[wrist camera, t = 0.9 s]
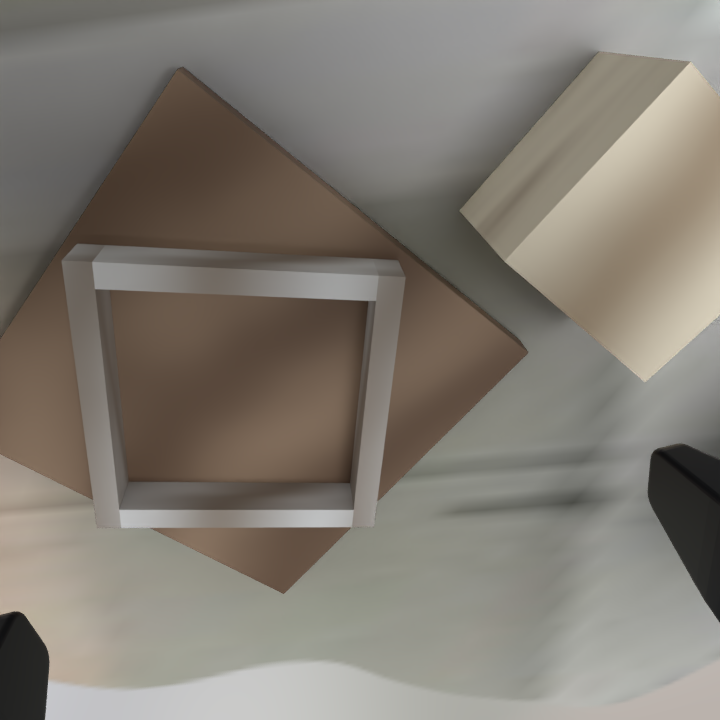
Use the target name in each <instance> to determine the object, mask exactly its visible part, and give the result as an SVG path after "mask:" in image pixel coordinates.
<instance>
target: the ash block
mask: <svg viewBox="0 0 720 720" xmlns="http://www.w3.org/2000/svg"><path fill="white" fill-rule="evenodd" d="M459 211H460V212H461V213H462V214H463V216H464V217H465V218H466V219H467V220H468V221H469V222H470V223H471V225H472V226H473V227H474V228H475V229H476V230H477V231H478V232H479V233H480V235H481V236H482V237H483V238H484V239H485V240H486V241H487V242H488V244H489V245H490V246H491V247H492V248H493V249H494V250H495V251H496V253H497V254H498V255H499V256H500V257H501V258H502V259H503V260H504V261H505V262H506V263H507V264H508V265H509V266H510V267H512V268H513V269H514V270H515V271H516V272H517V273H518V274H520V275H521V276H522V277H523V278H524V279H525V280H527V281H528V282H529V283H530V284H531V285H532V286H534V287H535V288H536V289H537V290H538V291H539V292H541V293H542V294H543V295H544V296H545V297H546V298H548V299H549V300H550V301H551V302H552V303H553V304H555V305H556V306H557V307H558V308H559V309H560V310H562V311H563V312H564V313H565V314H566V315H567V316H569V317H570V318H571V319H572V320H573V321H574V322H575V323H577V324H578V325H579V326H580V327H581V328H582V329H584V330H585V331H586V332H587V333H588V334H589V335H591V336H592V337H593V338H594V339H595V340H596V341H598V342H599V343H600V344H601V345H602V346H603V347H605V348H606V349H607V350H608V351H609V352H610V353H612V354H613V355H614V356H615V357H616V358H617V359H619V360H620V361H621V362H622V363H623V364H624V365H625V366H627V367H628V368H629V369H630V370H631V371H632V372H634V373H635V374H636V375H637V376H638V377H639V378H641V379H642V380H643V381H644V382H646V381H647V380H648V379H650V378H651V377H652V376H653V375H654V374H655V373H656V372H657V371H658V370H659V369H661V368H662V367H663V366H664V365H665V364H666V363H667V362H668V361H669V360H671V359H672V358H673V357H674V356H675V355H676V354H677V353H678V352H679V351H681V350H682V349H683V348H684V347H685V346H686V345H687V344H688V343H689V342H691V341H692V340H693V339H694V338H695V337H696V336H697V335H698V334H699V333H701V332H702V331H703V330H704V329H705V328H706V327H707V326H708V325H709V324H710V323H712V322H713V321H714V320H715V319H716V318H717V317H718V316H719V315H720V97H719V96H718V94H717V93H716V92H715V91H714V89H713V88H712V87H711V86H710V85H709V83H708V82H707V81H706V80H705V78H704V77H703V76H702V75H701V74H700V72H699V71H698V70H697V69H696V67H695V66H694V65H693V64H692V63H691V62H689V61H680V60H671V59H662V58H653V57H644V56H635V55H626V54H617V53H608V52H598V53H597V54H596V55H595V57H594V58H593V59H592V60H591V61H590V62H589V63H588V65H587V66H586V67H585V68H584V69H583V70H582V71H581V72H580V74H579V75H578V76H577V77H576V78H575V79H574V80H573V82H572V83H571V84H570V85H569V86H568V87H567V88H566V90H565V91H564V92H563V93H562V94H561V95H560V96H559V98H558V99H557V100H556V101H555V102H554V103H553V104H552V105H551V107H550V108H549V109H548V110H547V111H546V112H545V113H544V115H543V116H542V117H541V118H540V119H539V120H538V121H537V123H536V124H535V125H534V126H533V127H532V128H531V129H530V131H529V132H528V133H527V134H526V135H525V136H524V137H523V138H522V140H521V141H520V142H519V143H518V144H517V145H516V146H515V148H514V149H513V150H512V151H511V152H510V153H509V154H508V156H507V157H506V158H505V159H504V160H503V161H502V162H501V164H500V165H499V166H498V167H497V168H496V169H495V170H494V171H493V173H492V174H491V175H490V176H489V177H488V178H487V179H486V181H485V182H484V183H483V184H482V185H481V186H480V187H479V189H478V190H477V191H476V192H475V193H474V194H473V195H472V197H471V198H470V199H469V200H468V201H467V202H466V203H465V205H464V206H463V207H462V208H461V209H460V210H459Z"/></svg>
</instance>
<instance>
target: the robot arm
mask: <svg viewBox="0 0 720 720" xmlns="http://www.w3.org/2000/svg"><path fill="white" fill-rule="evenodd" d="M648 497H649V501H650V504H651V506H652V508H653V510H654V512H655V514H656V516H657V517H658V519H659V521H660V523H661V524H662V526H663V528H664V530H665V532H666V533H667V535H668V537H669V539H670V540H671V542H672V544H673V546H674V548H675V549H676V551H677V553H678V555H679V556H680V558H681V560H682V562H683V564H684V565H685V567H686V569H687V571H688V572H689V574H690V576H691V578H692V580H693V581H694V583H695V585H696V587H697V588H698V590H699V592H700V593H701V595H702V597H703V598H704V600H705V602H706V603H707V605H708V606H709V607H710V609H711V610H712V612H713V613H714V615H715V616H716V618H717V619H718V621H719V622H720V459H718V458H716V457H713V456H711V455H709V454H706V453H704V452H702V451H700V450H697V449H695V448H693V447H690V446H688V445H685V444H674V445H670V446H666V447H662V448H658V449H656V450H654V451H653V453H652V455H651V460H650V471H649V482H648ZM48 675H49V655H48V651H47V648H46V646H45V644H44V643H43V641H42V640H41V638H40V637H39V635H38V634H37V632H36V631H35V629H34V628H33V627H32V625H31V624H30V622H29V621H28V619H27V618H26V617H25V615H24V614H22V613H20V612H10V613H6V614H2V615H0V720H45V713H46V699H47V687H48Z"/></svg>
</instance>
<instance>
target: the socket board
mask: <svg viewBox="0 0 720 720" xmlns="http://www.w3.org/2000/svg"><path fill="white" fill-rule="evenodd" d="M527 353H528V351H527V350H526V348H525V347H524V346H523V344H522V343H521V341H520V340H519V339H518V338H517V337H515V336H514V335H513V334H512V333H510V332H509V331H508V330H507V329H505V328H504V327H503V326H502V325H501V324H499V323H498V322H497V321H496V320H494V319H493V318H492V317H491V316H489V315H488V314H487V313H486V312H484V311H483V310H482V309H481V308H480V307H478V306H477V305H476V304H475V303H473V302H472V301H471V300H470V299H468V298H467V297H466V296H465V295H464V294H462V293H461V292H460V291H459V290H457V289H456V288H455V287H454V286H452V285H451V284H450V283H449V282H447V281H446V280H445V279H444V278H443V277H441V276H440V275H439V274H438V273H436V272H435V271H434V270H433V269H431V268H430V267H429V266H428V265H427V264H425V263H424V262H423V261H422V260H420V259H419V258H418V257H417V256H415V255H414V254H413V253H412V252H410V251H409V250H408V249H407V248H406V247H404V246H403V245H402V244H401V243H399V242H398V241H397V240H396V239H394V238H393V237H392V236H391V235H390V234H388V233H387V232H386V231H385V230H383V229H382V228H381V227H380V226H378V225H377V224H376V223H375V222H373V221H372V220H371V219H370V218H369V217H367V216H366V215H365V214H364V213H362V212H361V211H360V210H359V209H357V208H356V207H355V206H354V205H353V204H351V203H350V202H349V201H348V200H346V199H345V198H344V197H343V196H341V195H340V194H339V193H338V192H336V191H335V190H334V189H333V188H332V187H330V186H329V185H328V184H327V183H325V182H324V181H323V180H322V179H320V178H319V177H318V176H317V175H316V174H314V173H313V172H312V171H311V170H309V169H308V168H307V167H306V166H304V165H303V164H302V163H301V162H299V161H298V160H297V159H296V158H295V157H293V156H292V155H291V154H290V153H288V152H287V151H286V150H285V149H283V148H282V147H281V146H280V145H279V144H277V143H276V142H275V141H274V140H272V139H271V138H270V137H269V136H267V135H266V134H265V133H264V132H262V131H261V130H260V129H259V128H258V127H256V126H255V125H254V124H253V123H251V122H250V121H249V120H248V119H246V118H245V117H244V116H243V115H242V114H240V113H239V112H238V111H237V110H235V109H234V108H233V107H232V106H230V105H229V104H228V103H227V102H225V101H224V100H223V99H222V98H221V97H219V96H218V95H217V94H216V93H214V92H213V91H212V90H211V89H209V88H208V87H207V86H206V85H205V84H203V83H202V82H201V81H200V80H198V79H197V78H196V77H195V76H193V75H192V74H191V73H190V72H188V71H187V70H186V69H185V68H184V67H182V68H179V69H177V71H176V72H175V74H174V75H173V77H172V78H171V80H170V82H169V83H168V85H167V86H166V88H165V89H164V91H163V92H162V94H161V95H160V97H159V98H158V100H157V101H156V103H155V104H154V106H153V107H152V109H151V110H150V112H149V113H148V115H147V117H146V118H145V120H144V121H143V123H142V124H141V126H140V127H139V129H138V130H137V132H136V133H135V135H134V136H133V138H132V139H131V141H130V142H129V144H128V145H127V147H126V148H125V150H124V152H123V153H122V155H121V156H120V158H119V159H118V161H117V162H116V164H115V165H114V167H113V168H112V170H111V171H110V173H109V174H108V176H107V177H106V179H105V180H104V182H103V183H102V185H101V187H100V188H99V190H98V191H97V193H96V194H95V196H94V197H93V199H92V200H91V202H90V203H89V205H88V206H87V208H86V209H85V211H84V212H83V214H82V215H81V217H80V218H79V220H78V222H77V223H76V225H75V226H74V228H73V229H72V231H71V232H70V234H69V235H68V237H67V238H66V240H65V241H64V243H63V244H62V246H61V247H60V249H59V250H58V252H57V253H56V255H55V257H54V258H53V260H52V261H51V263H50V264H49V266H48V267H47V269H46V270H45V272H44V273H43V275H42V276H41V278H40V279H39V281H38V282H37V284H36V285H35V287H34V288H33V290H32V292H31V293H30V295H29V296H28V298H27V299H26V301H25V302H24V304H23V305H22V307H21V308H20V310H19V311H18V313H17V314H16V316H15V317H14V319H13V320H12V322H11V323H10V325H9V327H8V328H7V330H6V331H5V333H4V334H3V336H2V337H1V339H0V454H1V455H3V456H5V457H7V458H9V459H11V460H13V461H15V462H17V463H19V464H21V465H23V466H26V467H28V468H30V469H32V470H34V471H36V472H38V473H40V474H42V475H44V476H46V477H48V478H50V479H52V480H54V481H56V482H58V483H60V484H62V485H64V486H66V487H68V488H70V489H72V490H74V491H76V492H78V493H80V494H82V495H84V496H86V497H88V498H90V499H92V500H93V502H94V510H95V517H96V525H97V528H151V529H153V530H155V531H157V532H159V533H161V534H163V535H165V536H167V537H170V538H172V539H174V540H176V541H178V542H180V543H182V544H184V545H186V546H188V547H190V548H192V549H194V550H196V551H198V552H200V553H202V554H204V555H206V556H208V557H210V558H212V559H214V560H216V561H218V562H220V563H222V564H224V565H226V566H228V567H230V568H232V569H234V570H236V571H238V572H241V573H243V574H245V575H247V576H249V577H251V578H253V579H255V580H257V581H259V582H261V583H263V584H265V585H267V586H269V587H271V588H273V589H275V590H277V591H279V592H281V593H283V594H284V593H285V592H286V591H287V590H288V589H289V588H290V587H291V586H292V585H293V584H294V583H295V582H296V581H297V580H298V579H299V578H300V577H301V576H302V575H303V574H304V573H306V572H307V571H308V570H309V569H310V568H311V567H312V566H313V565H314V564H315V563H316V562H317V561H318V560H319V559H320V558H321V557H322V556H323V555H324V554H325V553H326V552H327V551H328V550H329V549H330V548H331V547H332V546H333V545H334V544H335V543H336V542H337V541H338V540H339V539H340V538H341V537H342V536H343V535H344V534H345V533H346V532H347V531H348V530H349V529H350V528H351V527H374V522H375V514H376V506H377V501H378V500H379V499H381V498H382V497H383V496H384V495H385V494H386V493H387V492H388V491H389V490H390V489H391V488H392V487H393V486H394V485H395V484H396V483H397V482H398V481H399V480H400V479H401V478H402V477H403V476H404V475H405V474H406V473H407V472H408V471H409V470H410V469H411V468H412V467H413V466H414V465H415V464H416V463H417V462H418V461H419V460H420V459H421V458H422V457H423V456H424V455H425V454H426V453H427V452H428V451H429V450H430V449H431V448H432V447H433V446H434V445H435V444H436V443H437V442H438V441H439V440H440V439H441V438H442V437H443V436H444V435H445V434H446V433H447V432H448V431H449V430H450V429H451V428H452V427H453V426H455V425H456V424H457V423H458V422H459V421H460V420H461V419H462V418H463V417H464V416H465V415H466V414H467V413H468V412H469V411H470V410H471V409H472V408H473V407H474V406H475V405H476V404H477V403H478V402H479V401H480V400H481V399H482V398H483V397H484V396H485V395H486V394H487V393H488V392H489V391H490V390H491V389H492V388H493V387H494V386H495V385H496V384H497V383H498V382H499V381H500V380H501V379H502V378H503V377H504V376H505V375H506V374H507V373H508V372H509V371H510V370H511V369H512V368H513V367H514V366H515V365H516V364H517V363H518V362H519V361H520V360H521V359H522V358H523V357H524V356H525V355H526V354H527Z"/></svg>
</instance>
